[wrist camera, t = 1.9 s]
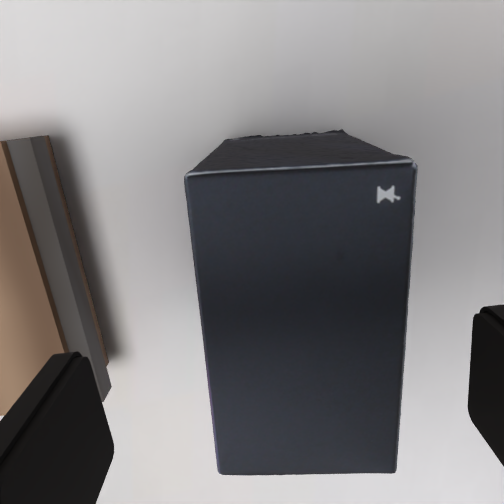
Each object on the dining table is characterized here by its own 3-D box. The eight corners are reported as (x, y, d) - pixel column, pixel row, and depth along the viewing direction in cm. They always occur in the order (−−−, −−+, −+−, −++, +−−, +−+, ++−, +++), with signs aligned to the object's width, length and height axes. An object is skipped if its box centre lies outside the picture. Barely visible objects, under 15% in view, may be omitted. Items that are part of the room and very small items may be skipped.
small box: (213, 137, 21) (169, 164, 11) (348, 128, 20) (431, 148, 10) (230, 328, 24) (209, 485, 14) (346, 323, 24) (407, 479, 14)
